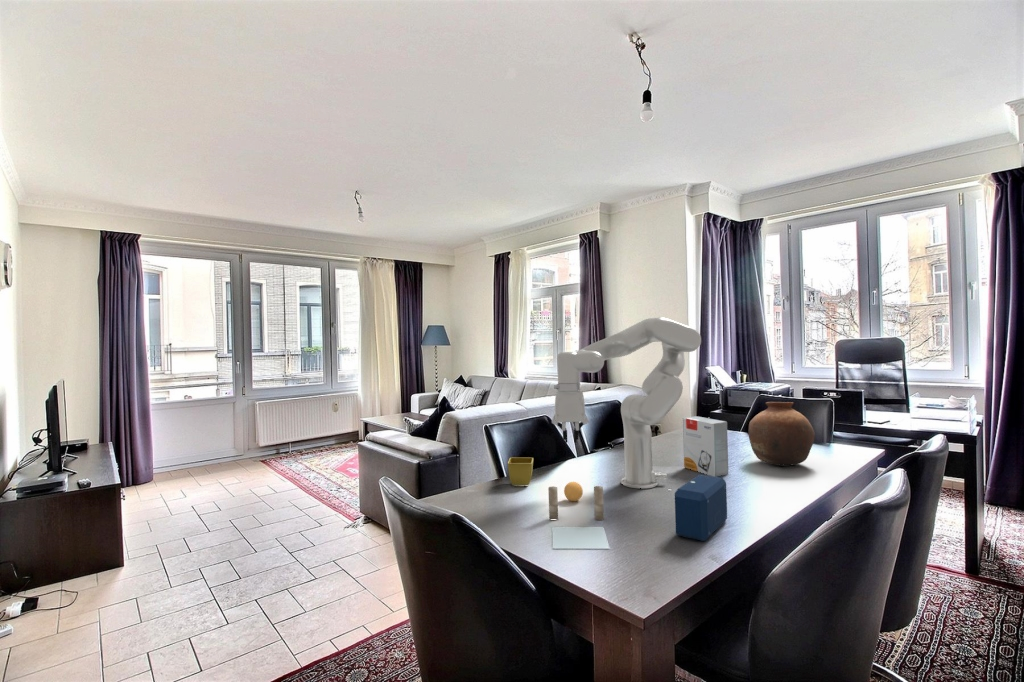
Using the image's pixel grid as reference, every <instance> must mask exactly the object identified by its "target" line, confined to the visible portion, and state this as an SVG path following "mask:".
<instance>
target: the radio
mask: <svg viewBox="0 0 1024 682" xmlns="http://www.w3.org/2000/svg"><path fill="white" fill-rule="evenodd" d="M706 460H707V451H706ZM727 497H728V495H727V482H726V480H725V479H724V478H723V477H720V476H717V477H713V476H710V475H708V469H707V475H706V474H697V476H695V477H694V478H691V479H690V480H689V481H688V482H686V483H685V484H683V485H682V486H680V487H679V488H677V489H676V490H675V492H674V512H675V513H674V515H675V517H674V518H675V519H674V520H675V521H674V522H675V535H678V536H679V537H683V538H688V539H692V540H697V541H700V542H706V540H708V539H709V538H710V537H711V536H712V535H713V534H712V533H713V532H714V531H715V530H716V531H717V529H718V528H720V527H721V526H722V524H723V523H725V522H726V520H727V519H728V504H727V503H728V501H727V500H728V499H727ZM716 531H715V532H716ZM715 532H714V533H715ZM711 534H712V535H711Z"/></svg>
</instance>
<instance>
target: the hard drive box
mask: <svg viewBox="0 0 1024 682" xmlns="http://www.w3.org/2000/svg"><path fill="white" fill-rule="evenodd" d="M682 427H683V428H682V429H683V430H682V433H683V434H682V435H683V436H682V437H683V441H682V442H683V466H684V467H685V469H687V470H690V469H691V471H693V472H694V471H695V472H697V471H698V472H697V473H700V472H701V474H703V473H704V474H703V475H706V474H707V469H708V476H712V477H713V476H714V477H716V476H717V477H721V475H722V476H726V474H727V475H729V449H728V448H729V447H728V446H729V445H728V440H729V439H728V422H727V421H726V420H719V419H713V418H708V417H702V416H699V415H698V416H697V415H695V416H686V417H683V418H682ZM706 451H707V460H706ZM684 467H683V468H684Z"/></svg>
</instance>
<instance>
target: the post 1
mask: <svg viewBox="0 0 1024 682" xmlns="http://www.w3.org/2000/svg"><path fill="white" fill-rule="evenodd" d="M547 490H548V517H549V518H550V519H559V504H558V503H559V499H558V498H559V497H558V487H557V486H555V485H554V486H552V485H551V486H548V489H547ZM549 518H548V519H549ZM550 519H549V520H550Z"/></svg>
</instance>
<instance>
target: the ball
mask: <svg viewBox="0 0 1024 682" xmlns="http://www.w3.org/2000/svg"><path fill="white" fill-rule="evenodd" d="M563 489H564V490H563V493H564V496H565V497H566V499H568V501H571V502H577V501H579V500H580V499H581V498H582V496H583V493H584V490H583V487H582V485H581V484H580V483H578V482H576V481H570V482H568V483H567V484H565V486H564V488H563Z"/></svg>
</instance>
